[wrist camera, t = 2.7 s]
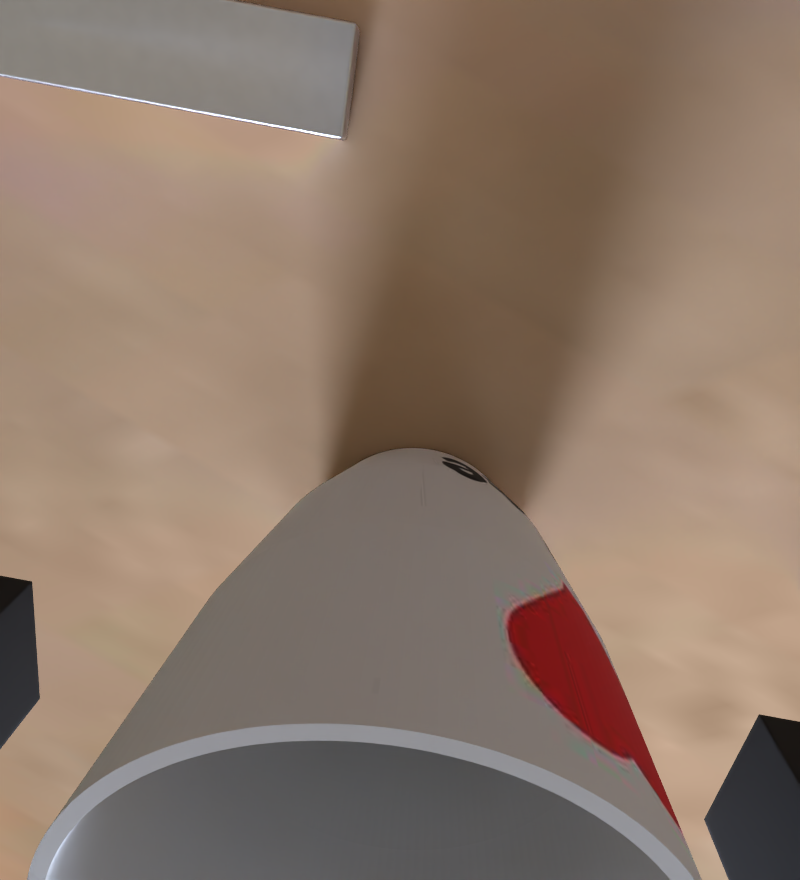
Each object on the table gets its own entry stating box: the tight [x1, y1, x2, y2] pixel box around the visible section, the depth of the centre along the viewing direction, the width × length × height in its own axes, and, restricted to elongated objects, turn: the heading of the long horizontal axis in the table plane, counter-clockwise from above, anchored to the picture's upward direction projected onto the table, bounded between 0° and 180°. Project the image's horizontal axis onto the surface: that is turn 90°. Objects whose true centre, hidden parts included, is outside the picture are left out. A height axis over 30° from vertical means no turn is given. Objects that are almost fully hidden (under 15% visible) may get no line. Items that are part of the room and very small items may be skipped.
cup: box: [27, 448, 702, 880], centre depth 12 cm, size 8×8×10 cm
